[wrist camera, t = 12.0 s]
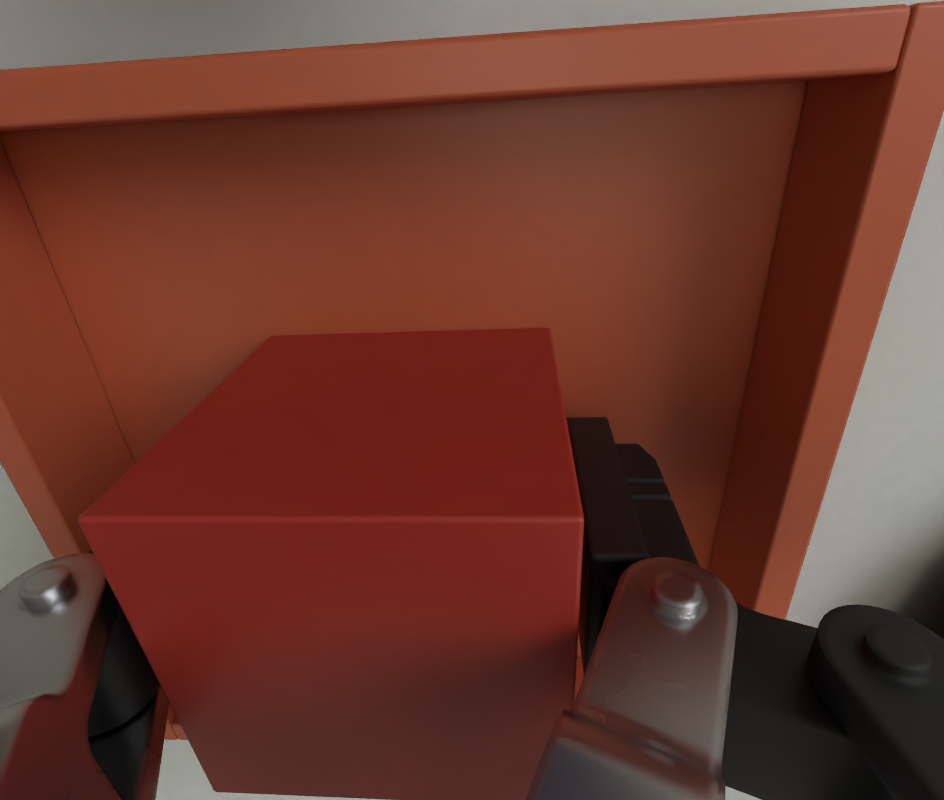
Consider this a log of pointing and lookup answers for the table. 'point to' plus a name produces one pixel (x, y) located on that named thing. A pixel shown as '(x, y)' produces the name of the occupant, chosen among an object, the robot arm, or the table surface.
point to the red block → (361, 565)
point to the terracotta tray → (479, 241)
